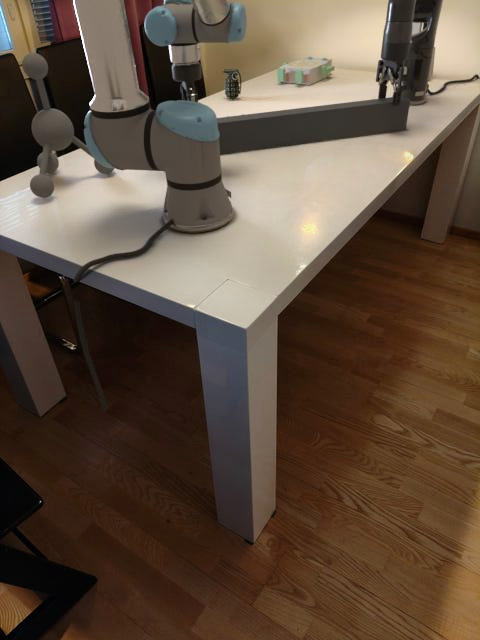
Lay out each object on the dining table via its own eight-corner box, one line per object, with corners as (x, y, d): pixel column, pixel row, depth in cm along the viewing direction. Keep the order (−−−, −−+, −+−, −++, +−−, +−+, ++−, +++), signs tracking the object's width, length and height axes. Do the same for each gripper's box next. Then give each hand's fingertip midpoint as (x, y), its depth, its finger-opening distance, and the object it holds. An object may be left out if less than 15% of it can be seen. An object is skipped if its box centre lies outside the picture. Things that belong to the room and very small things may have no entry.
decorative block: (300, 55, 216) (341, 58, 206) (299, 71, 220) (340, 74, 210) (268, 66, 200) (311, 70, 190) (268, 83, 204) (310, 87, 194)
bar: (176, 160, 137) (172, 128, 131) (174, 154, 141) (170, 123, 135) (405, 130, 148) (410, 99, 143) (397, 125, 152) (402, 95, 146)
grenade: (223, 100, 185) (221, 71, 179) (226, 96, 190) (225, 68, 184) (239, 100, 184) (238, 71, 178) (243, 96, 188) (242, 68, 182)
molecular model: (125, 187, 123) (98, 53, 104) (35, 204, 117) (-11, 66, 98) (110, 158, 140) (84, 39, 122) (30, 172, 134) (-9, 49, 116)
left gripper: (206, 67, 119) (214, 161, 133) (194, 55, 133) (202, 141, 147) (176, 70, 117) (187, 165, 132) (167, 58, 131) (178, 144, 146)
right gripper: (422, 41, 129) (412, 106, 139) (396, 35, 140) (388, 95, 150) (397, 44, 128) (388, 109, 138) (372, 37, 139) (366, 98, 149)
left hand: (195, 152), depth 139 cm, fingers closed on bar, 5 cm apart
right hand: (388, 102), depth 144 cm, fingers open, 8 cm apart
